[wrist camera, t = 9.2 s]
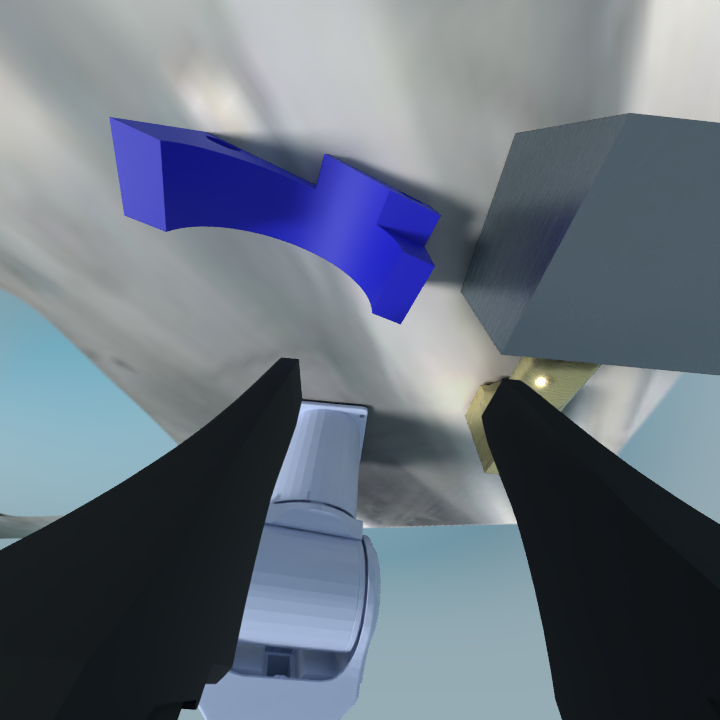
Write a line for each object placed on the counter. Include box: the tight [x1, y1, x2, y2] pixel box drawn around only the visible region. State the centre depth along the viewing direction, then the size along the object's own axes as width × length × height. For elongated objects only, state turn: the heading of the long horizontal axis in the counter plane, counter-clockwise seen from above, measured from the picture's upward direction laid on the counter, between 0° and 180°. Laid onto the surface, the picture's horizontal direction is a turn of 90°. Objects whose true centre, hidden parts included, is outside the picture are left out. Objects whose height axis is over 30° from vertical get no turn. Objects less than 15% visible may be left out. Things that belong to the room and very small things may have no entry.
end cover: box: [465, 357, 601, 474], centre depth 19 cm, size 10×6×6 cm, turn 175°
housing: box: [461, 113, 720, 375], centre depth 12 cm, size 9×12×7 cm
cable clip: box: [109, 117, 441, 324], centre depth 12 cm, size 12×4×6 cm, turn 68°
